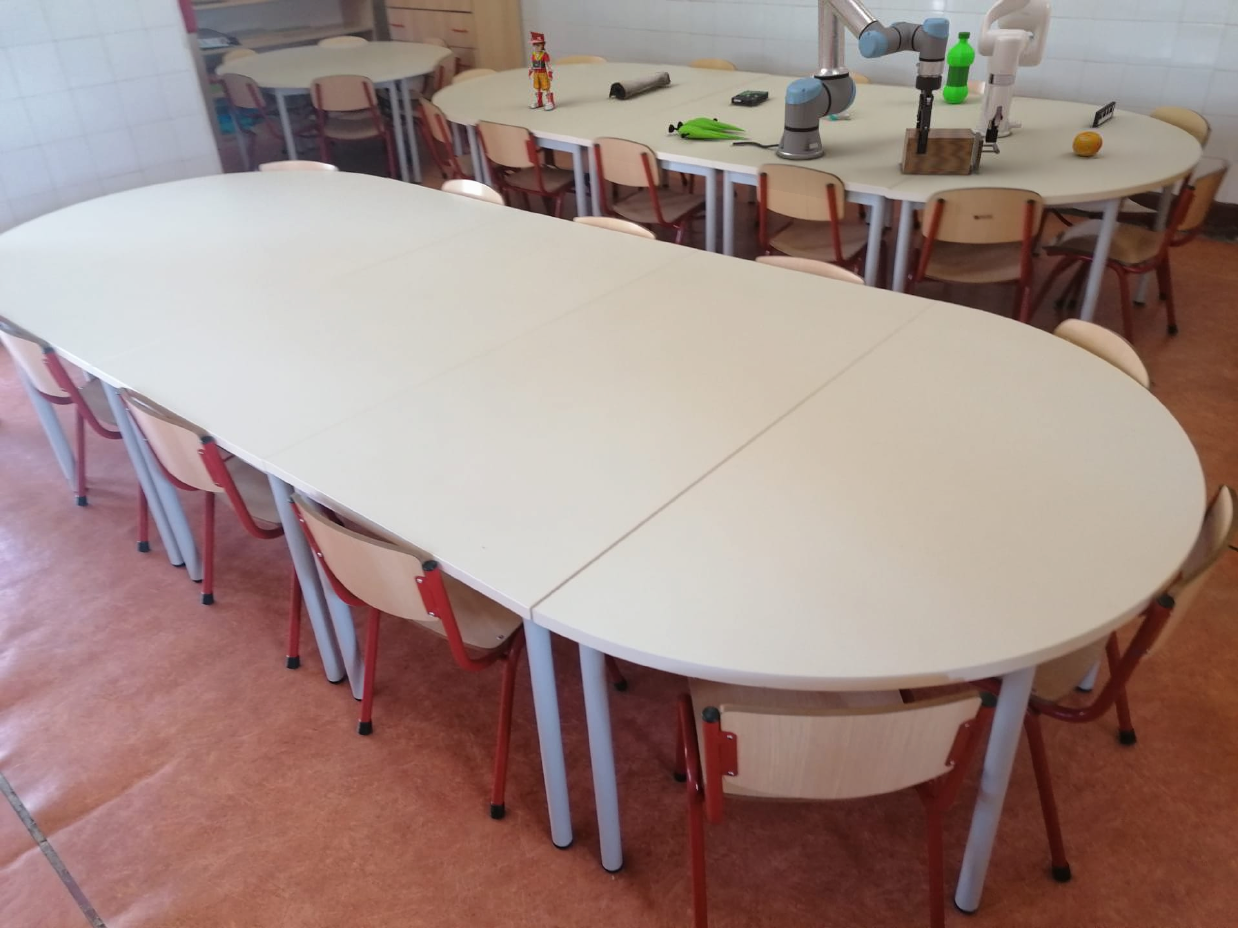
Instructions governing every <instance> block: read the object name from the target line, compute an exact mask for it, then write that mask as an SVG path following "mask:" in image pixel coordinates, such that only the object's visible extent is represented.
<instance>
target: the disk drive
mask: <svg viewBox="0 0 1238 928" xmlns="http://www.w3.org/2000/svg"><path fill="white" fill-rule="evenodd" d="M769 94H770V93H769V91H763V90H762V91H761V90H749V89H748V90H744V91H742V92H740V93H738V94H735V95H734V96H732V97H731V99H730V103H731V105H736V106H737V105H738V106H750V107H753V106H756V105H759V104H760V103H762V102H764V101H766V100H767V99H768V98H769Z"/></svg>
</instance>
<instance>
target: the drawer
mask: <svg viewBox="0 0 1238 928" xmlns="http://www.w3.org/2000/svg"><path fill="white" fill-rule="evenodd" d="M974 137H975V140H974V145H973V151H972V157H971V163H970V164H971V165H972V168H973V170H974V172H978V171H979V170H980V166H981V165H980V164H981V160H982V153H983V154H984V153H985V154H986V153H988V154H992V153H993V154H995V155H1000V153H1001V150H1000V147H999V146H998V144H997V142H996V143H985V139H984V137H983V136H981V133H980V132H976V134H974ZM984 143H985V144H984ZM984 148H992V149H984Z"/></svg>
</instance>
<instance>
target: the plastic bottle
mask: <svg viewBox="0 0 1238 928" xmlns="http://www.w3.org/2000/svg"><path fill="white" fill-rule="evenodd" d="M970 36H971V32H970V31H959V32H958V36H957V39H958V42H957V43H956V44H954V45H953V46H952V47H951V48H950V49H949V50H948V52H947V53H946V63H947V64H948V69H947V70H948V71H947V76H946V77H947V78H946V84H945V85H944V87H943V90H942V97H943V99H944V100H945V101H946V102H947V103H948V104H960V103H961V102H963V101H964V100H966V98H967V96H968V95H969V85H968V79H969V73H970V67H971V65H972V64H973V63H974V61H975V57H976V51H975V49H974V47H972V45H971V44H970V43H969V42H968V41H969V39H970V38H971V37H970Z"/></svg>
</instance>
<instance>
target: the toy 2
mask: <svg viewBox="0 0 1238 928" xmlns="http://www.w3.org/2000/svg"><path fill="white" fill-rule="evenodd" d="M667 131H668V133H669V134H672V133H674V132H675V131H678V134H679V135H680V138H681V139H686V138H691V139H716V140H717V139H718V140H719V139H720V140H721V139H722V140H723V139H725V140H726V139H727V140H728V139H746V140H747V139H749V137H744V136H739V135H735V134H734V135H733V134H729V133H724V131H736V132H746V130H745V129H742V128H740V127H737V126H736V125H735V126H734V125H731V124H729V123H724V122H720V121H718V119H717V118H716V117H714V118H712V119H710V118H708V117H695V118H694V119H691V120H690V119H689V120H687V121H686V122H682V121H678V122H677V125H676V126H675V125H674V124H672V123H670V124H669V126H668V130H667Z"/></svg>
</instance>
